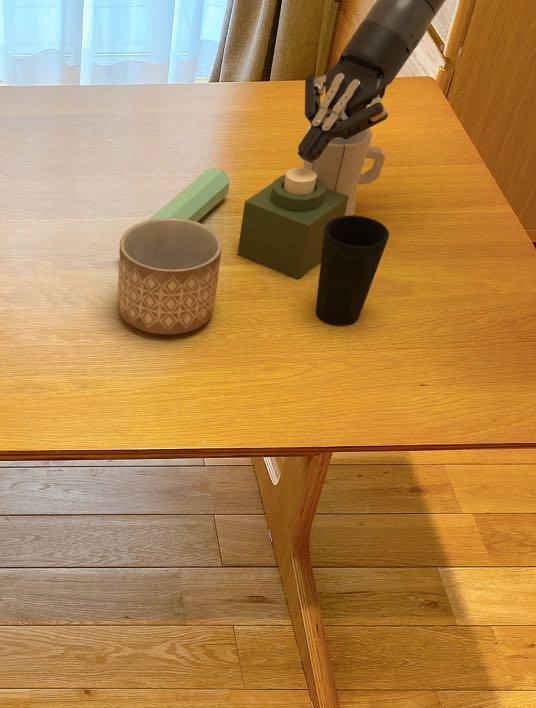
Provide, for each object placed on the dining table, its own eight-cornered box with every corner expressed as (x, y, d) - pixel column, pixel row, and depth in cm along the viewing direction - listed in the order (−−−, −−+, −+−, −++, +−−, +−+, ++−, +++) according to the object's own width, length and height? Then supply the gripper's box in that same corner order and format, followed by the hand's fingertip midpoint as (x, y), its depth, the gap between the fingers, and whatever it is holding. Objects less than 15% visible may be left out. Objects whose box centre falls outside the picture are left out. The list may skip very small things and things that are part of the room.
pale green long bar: (213, 152, 152) (128, 224, 138) (244, 176, 152) (162, 250, 138) (195, 183, 157) (112, 255, 143) (226, 206, 156) (144, 280, 143)
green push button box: (337, 249, 144) (352, 183, 136) (298, 279, 139) (311, 212, 132) (276, 226, 149) (287, 161, 141) (237, 254, 144) (246, 188, 137)
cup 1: (331, 186, 156) (347, 108, 147) (376, 210, 151) (395, 131, 142) (280, 207, 152) (293, 129, 144) (324, 232, 147) (341, 153, 138)
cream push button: (319, 187, 137) (322, 173, 135) (303, 199, 135) (306, 184, 133) (294, 178, 139) (296, 164, 137) (277, 190, 137) (280, 175, 135)
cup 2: (362, 335, 130) (383, 252, 121) (301, 324, 132) (319, 241, 123) (371, 303, 134) (393, 220, 126) (313, 292, 137) (331, 210, 128)
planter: (138, 278, 141) (142, 209, 133) (226, 299, 137) (235, 229, 129) (101, 327, 134) (104, 257, 126) (193, 351, 129) (201, 279, 122)
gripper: (336, 5, 130) (255, 128, 135) (422, 34, 123) (333, 163, 127) (356, 37, 136) (277, 154, 140) (438, 67, 129) (353, 189, 133)
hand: (304, 158), depth 134 cm, fingers closed
